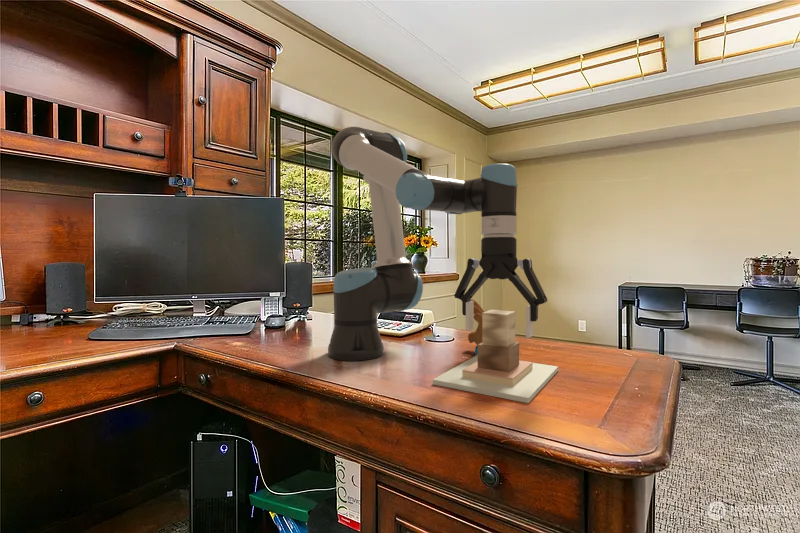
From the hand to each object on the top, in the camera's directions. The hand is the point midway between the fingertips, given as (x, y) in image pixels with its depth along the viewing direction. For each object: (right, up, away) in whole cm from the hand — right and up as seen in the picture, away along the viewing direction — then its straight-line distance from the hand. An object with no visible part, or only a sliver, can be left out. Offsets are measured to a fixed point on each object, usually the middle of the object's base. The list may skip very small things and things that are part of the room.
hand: (498, 333), depth 89 cm
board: (0, -10, 0) cm, 10 cm away
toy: (0, -9, +21) cm, 23 cm away
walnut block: (0, -7, 0) cm, 7 cm away
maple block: (0, -2, 0) cm, 2 cm away
